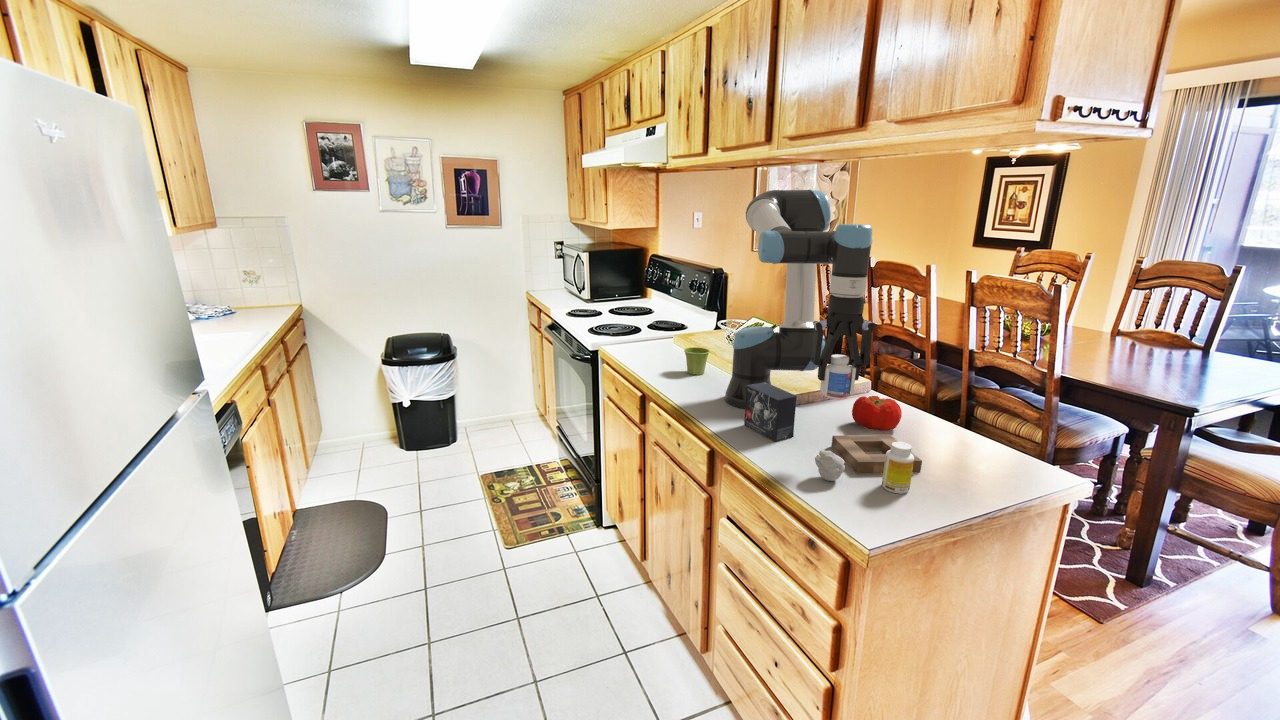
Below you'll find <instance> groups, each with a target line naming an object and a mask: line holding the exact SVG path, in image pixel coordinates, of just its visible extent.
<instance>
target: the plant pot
mask: <svg viewBox="0 0 1280 720" xmlns="http://www.w3.org/2000/svg"><path fill="white" fill-rule="evenodd" d="M683 352H684V355H685V357H686V359H685V360H686V369H687V373H688V374H689V375H692V376H693V375H697V376H701V375H704V374H705V370H706V366H707V360H708V357H709V354H710V353H711V351H710V349H709V348H706V347H700V346H699V347H696V346H693V347H690V346H689V347H686V348H684V349H683Z"/></svg>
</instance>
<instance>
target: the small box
mask: <svg viewBox="0 0 1280 720" xmlns="http://www.w3.org/2000/svg"><path fill="white" fill-rule="evenodd" d="M797 399H798V396H797V395H796V394H794V393H791V392H788V391H786V390H784V389H782V388H780V387H778V386H775V385H773V384H772V383H771V384H768V383H766V382H763V383H758V384H752V385H747V386H746V402H745V408H744V422H743V426H745V427H747V428H748V429H750V430H752V431H754V432H756V433H757V434H759V435H761V436H763V437H765V438H767V439H768V438H769V440H771V442H774V443H776V442H780V440H781V441H785V440H788V438H789V439H792V437H793V438H794V432H795V431H794V430H795V420H796V409H797V408H796V406H797Z"/></svg>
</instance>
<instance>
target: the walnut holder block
mask: <svg viewBox="0 0 1280 720" xmlns="http://www.w3.org/2000/svg"><path fill="white" fill-rule="evenodd" d="M893 442H899V441H898V440H897V439H896V438H894V436H892V435H891V434H853V435H851V434H849V435H848V434H847V435H845V434H844V435H843V434H842V435H841V434H840V435H832V438H831V444H830V445H831V448H832V449H833V450H834V452H836V454H838V456H839V457H841V458H842V459H843V460H844V462H845V463H846V464H847V465H848V466H849V467H850V468H851V469H852V470H853V471H854V472H855V473H856V475H861V474H862V475H863V474H865V475H870V474H871V475H873V474H883V471H884V464H885V457H886V452H887V451H888V450H890V449H891V444H892V443H893ZM867 453H870V454H867ZM871 453H873V454H871ZM876 453H877V454H876ZM878 453H882V454H878ZM911 454H912V455H913V456H914V464H913V470H912V474H913V473H918V474H919V473H921V470H922V464H923V459H921V458H920V457H918V456H917V455H916V454H914V453H913V452H912V451H911Z"/></svg>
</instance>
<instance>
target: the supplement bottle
mask: <svg viewBox="0 0 1280 720" xmlns="http://www.w3.org/2000/svg"><path fill="white" fill-rule="evenodd" d="M911 452H912V445H911V444H909V443H906V442H904V441H898V442H893V443H892V444H891V449H890V450H888V451H887V452H886V457H885V464H884V471H883V473H882V478H881V479H882V480H881V486H882V488H883V489H884V490H886V491H888V492H890V493H893V494H897V495H898V494H901V495H902V494H906V493H909V491H910V489H911V482H912V476H913V473H912V470H913V464H914V456H913V455H912V454H911Z"/></svg>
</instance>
